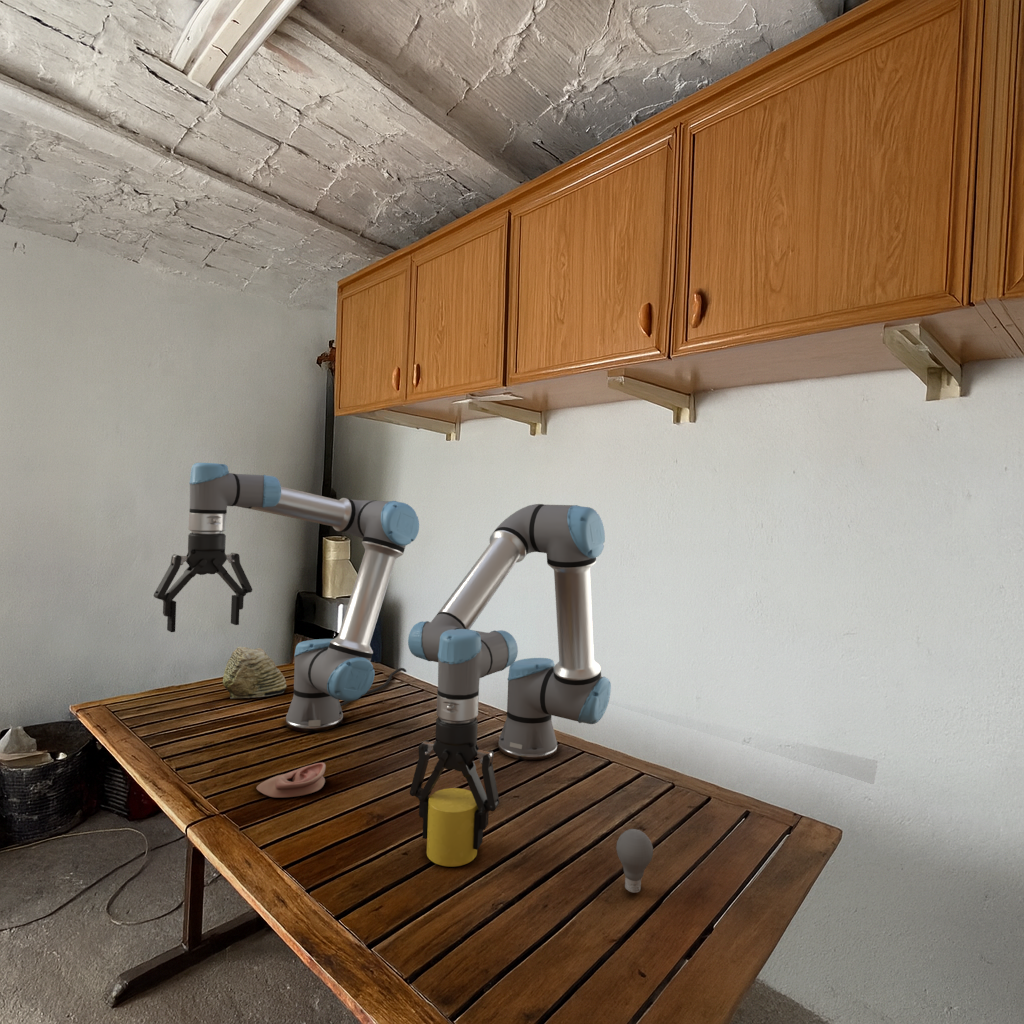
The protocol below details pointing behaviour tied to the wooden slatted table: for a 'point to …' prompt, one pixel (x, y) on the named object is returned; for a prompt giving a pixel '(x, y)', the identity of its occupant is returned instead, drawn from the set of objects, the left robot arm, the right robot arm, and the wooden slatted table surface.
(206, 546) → the left robot arm
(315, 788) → the anatomical model
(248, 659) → the fossil
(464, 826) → the yellow cylinder
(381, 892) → the wooden slatted table surface
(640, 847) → the light bulb
